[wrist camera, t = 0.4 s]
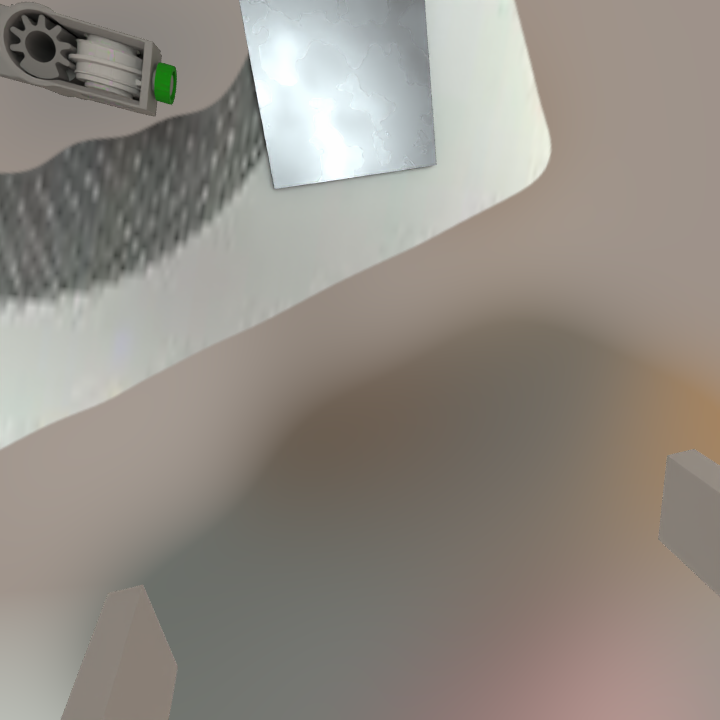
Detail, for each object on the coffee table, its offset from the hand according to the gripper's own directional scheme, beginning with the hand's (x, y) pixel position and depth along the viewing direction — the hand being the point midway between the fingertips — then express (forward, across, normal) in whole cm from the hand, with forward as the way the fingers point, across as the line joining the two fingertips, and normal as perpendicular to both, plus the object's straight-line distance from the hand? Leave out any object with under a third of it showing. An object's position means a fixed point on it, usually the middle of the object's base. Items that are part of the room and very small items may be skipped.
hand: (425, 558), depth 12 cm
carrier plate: (+26, +4, +15) cm, 31 cm away
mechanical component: (+26, -10, +15) cm, 32 cm away
